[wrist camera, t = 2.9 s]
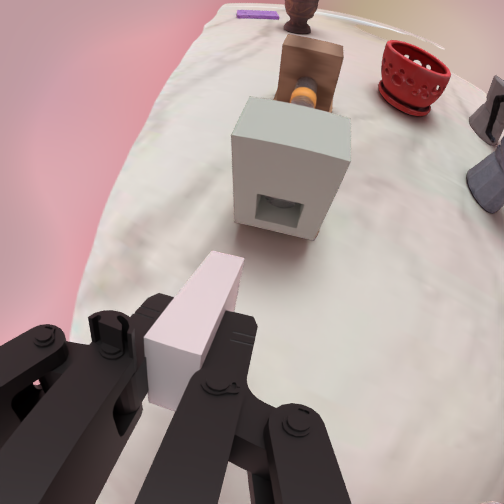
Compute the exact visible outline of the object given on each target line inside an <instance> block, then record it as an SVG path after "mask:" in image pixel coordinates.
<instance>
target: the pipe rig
mask: <svg viewBox="0 0 504 504" xmlns="http://www.w3.org/2000/svg"><path fill="white" fill-rule="evenodd" d="M343 58H344V57H343V46H341V45H337V44H333V43H329V42H325V41H321V40H316V39H312V38H307V37H302V36H296V35H290V34H288V35H287V37H286V39H285V41H284V43H283V46H282V55H281V64H280V73H279V82H278V89H277V91H276V94H275V97H274V99H273V100H276V101H281V102H286V103H291V104H296V105H301V106H305V107H309V108H314V109H318V110H322V111H326V112H330V113H332V103H333V95H334V92H335V88H336V84H337V81H338V77H339V73H340V69H341V66H342V62H343ZM265 198H266V200H267V201H268V202H269V203H270V204H271V205H273V206H276V207H279V208H292V207H294V206H295V205H296V204H297V203H296V202H292V201H288V200H283V199H279V198H275V197H270V196H266V195H265ZM318 233H319V231H318ZM318 233H317V235H318ZM317 235H316V237H317ZM316 237H315V238H316Z"/></svg>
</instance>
